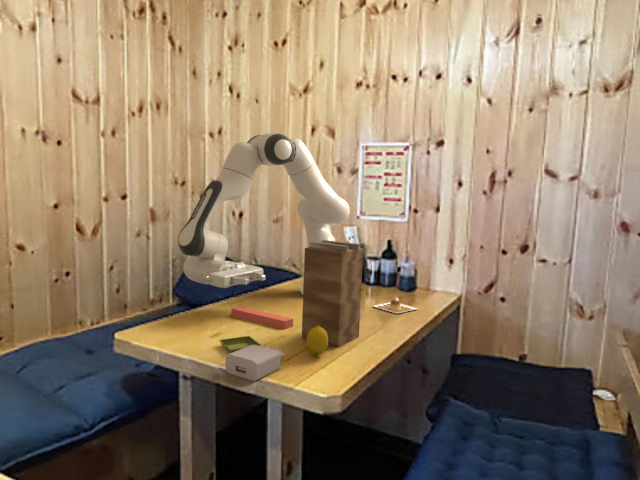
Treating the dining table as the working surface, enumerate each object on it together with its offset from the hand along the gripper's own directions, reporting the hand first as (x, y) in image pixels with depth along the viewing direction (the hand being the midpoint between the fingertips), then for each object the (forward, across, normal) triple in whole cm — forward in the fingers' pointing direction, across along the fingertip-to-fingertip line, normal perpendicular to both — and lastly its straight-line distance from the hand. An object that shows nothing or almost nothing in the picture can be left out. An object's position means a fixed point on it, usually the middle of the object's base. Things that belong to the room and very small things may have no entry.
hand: (256, 279), depth 156 cm
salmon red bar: (+2, 0, +14) cm, 14 cm away
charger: (+27, -30, +13) cm, 42 cm away
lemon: (+33, -15, +13) cm, 39 cm away
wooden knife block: (+28, 0, +13) cm, 31 cm away
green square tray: (+14, -23, +14) cm, 30 cm away
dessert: (+29, +44, +14) cm, 54 cm away
